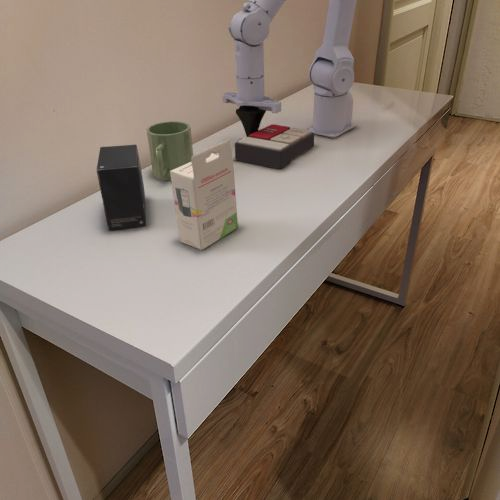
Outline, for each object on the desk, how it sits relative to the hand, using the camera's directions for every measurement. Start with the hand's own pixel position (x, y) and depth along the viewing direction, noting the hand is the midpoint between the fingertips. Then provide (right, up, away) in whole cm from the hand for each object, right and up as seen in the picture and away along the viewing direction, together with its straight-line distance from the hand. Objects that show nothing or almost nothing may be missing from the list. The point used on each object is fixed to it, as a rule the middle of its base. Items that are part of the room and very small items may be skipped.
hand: (252, 140), depth 110 cm
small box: (-21, -18, -25) cm, 37 cm away
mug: (-16, -9, -11) cm, 22 cm away
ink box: (-7, -22, -32) cm, 39 cm away
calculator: (+5, -4, -3) cm, 7 cm away
